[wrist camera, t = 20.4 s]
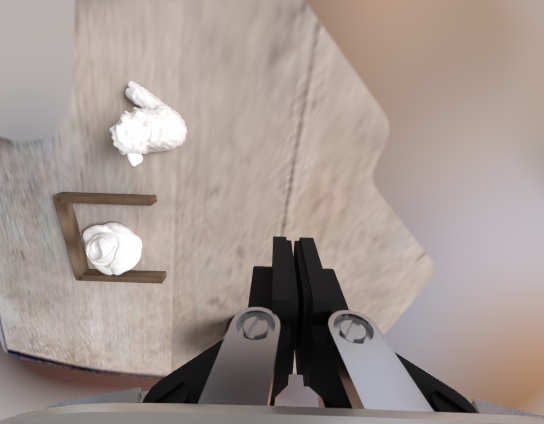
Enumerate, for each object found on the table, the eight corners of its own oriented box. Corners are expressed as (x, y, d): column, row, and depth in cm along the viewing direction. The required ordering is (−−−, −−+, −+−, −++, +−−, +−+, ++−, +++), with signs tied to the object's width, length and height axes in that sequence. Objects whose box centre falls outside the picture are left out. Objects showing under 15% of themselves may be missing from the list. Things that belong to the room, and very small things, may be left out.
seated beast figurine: (131, 80, 35) (63, 65, 24) (195, 97, 35) (158, 89, 24) (128, 150, 38) (68, 166, 27) (187, 164, 39) (151, 185, 28)
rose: (123, 293, 42) (62, 273, 41) (137, 277, 46) (81, 258, 45) (137, 243, 39) (71, 219, 38) (150, 231, 43) (91, 208, 42)
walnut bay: (62, 191, 40) (52, 195, 39) (155, 195, 40) (150, 199, 39) (84, 273, 46) (76, 280, 44) (166, 276, 46) (161, 283, 44)
